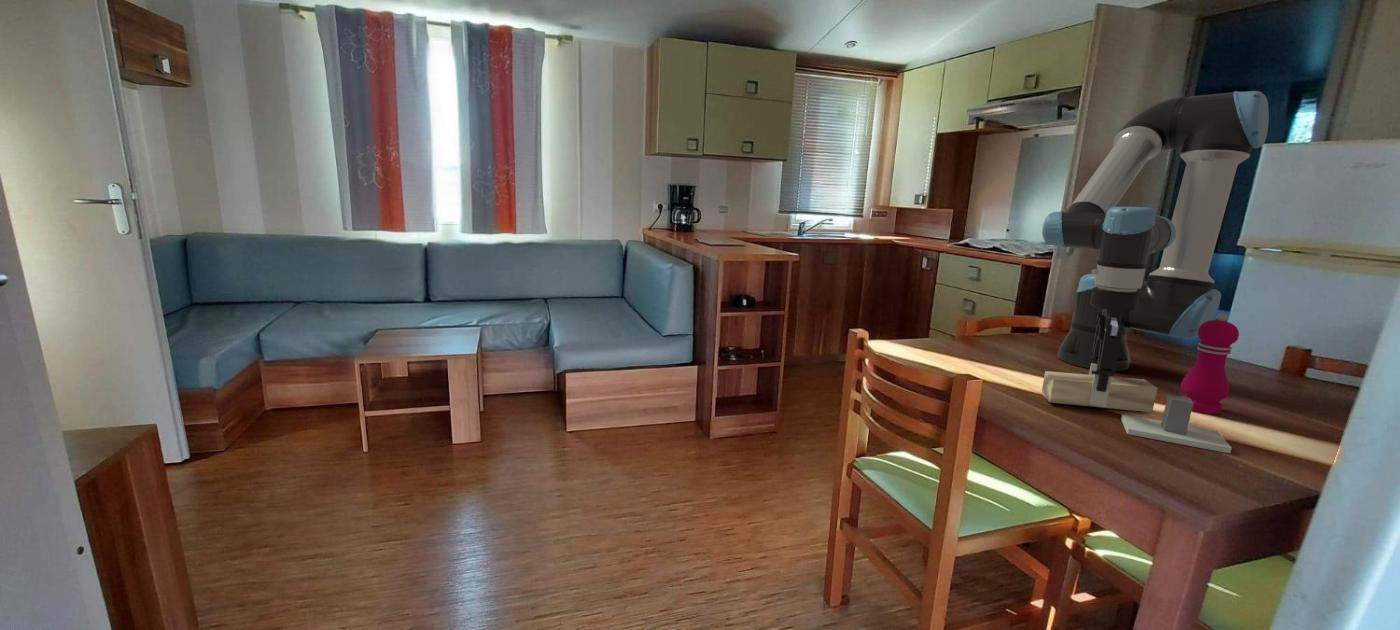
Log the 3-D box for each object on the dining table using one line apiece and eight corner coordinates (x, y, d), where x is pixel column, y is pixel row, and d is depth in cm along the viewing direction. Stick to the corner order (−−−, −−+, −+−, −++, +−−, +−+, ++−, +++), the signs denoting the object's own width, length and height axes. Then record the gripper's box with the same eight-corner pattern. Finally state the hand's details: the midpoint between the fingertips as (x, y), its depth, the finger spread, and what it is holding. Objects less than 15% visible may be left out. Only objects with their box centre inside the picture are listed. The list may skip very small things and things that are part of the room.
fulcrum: (1120, 418, 107) (1128, 384, 106) (1216, 436, 100) (1225, 399, 99) (1127, 434, 100) (1135, 397, 99) (1230, 453, 94) (1240, 414, 92)
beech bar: (1041, 393, 118) (1045, 371, 117) (1139, 402, 114) (1144, 379, 112) (1049, 402, 113) (1053, 379, 112) (1152, 412, 109) (1157, 388, 108)
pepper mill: (1232, 417, 109) (1258, 318, 105) (1190, 413, 111) (1214, 315, 106) (1208, 403, 116) (1231, 310, 112) (1168, 400, 118) (1189, 307, 113)
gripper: (1088, 278, 118) (1070, 382, 123) (1098, 294, 102) (1077, 412, 107) (1132, 282, 114) (1111, 388, 119) (1150, 298, 98) (1125, 420, 103)
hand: (1095, 399), depth 113 cm, fingers closed on beech bar, 6 cm apart
